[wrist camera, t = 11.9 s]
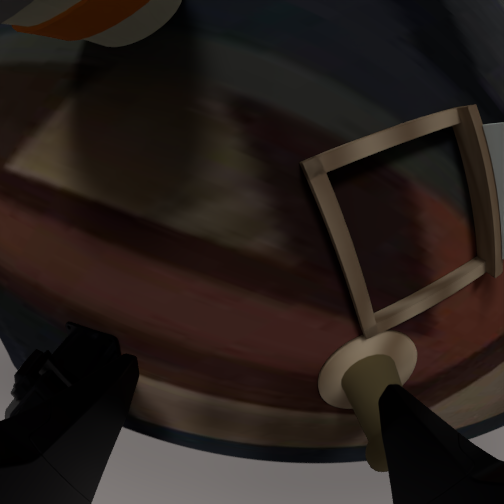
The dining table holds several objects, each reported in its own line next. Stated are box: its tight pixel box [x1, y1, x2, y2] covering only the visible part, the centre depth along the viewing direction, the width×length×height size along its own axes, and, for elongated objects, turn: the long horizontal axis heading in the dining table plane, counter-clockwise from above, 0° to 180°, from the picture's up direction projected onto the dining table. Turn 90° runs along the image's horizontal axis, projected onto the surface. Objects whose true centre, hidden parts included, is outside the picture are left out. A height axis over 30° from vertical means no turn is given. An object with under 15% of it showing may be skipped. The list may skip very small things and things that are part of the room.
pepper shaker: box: [341, 354, 402, 472], centre depth 19 cm, size 6×6×11 cm
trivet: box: [318, 330, 417, 409], centre depth 24 cm, size 11×11×1 cm
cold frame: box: [299, 105, 504, 339], centre depth 14 cm, size 19×15×9 cm
